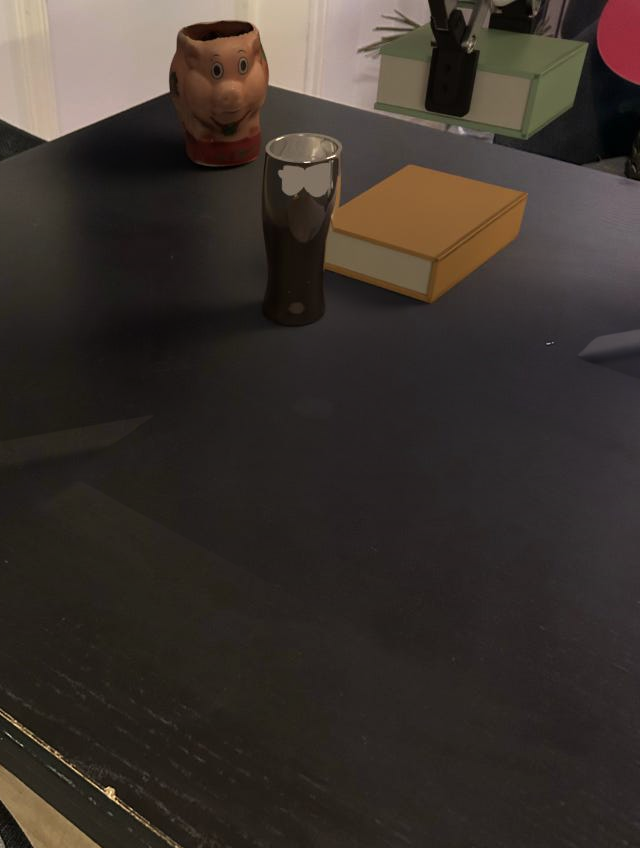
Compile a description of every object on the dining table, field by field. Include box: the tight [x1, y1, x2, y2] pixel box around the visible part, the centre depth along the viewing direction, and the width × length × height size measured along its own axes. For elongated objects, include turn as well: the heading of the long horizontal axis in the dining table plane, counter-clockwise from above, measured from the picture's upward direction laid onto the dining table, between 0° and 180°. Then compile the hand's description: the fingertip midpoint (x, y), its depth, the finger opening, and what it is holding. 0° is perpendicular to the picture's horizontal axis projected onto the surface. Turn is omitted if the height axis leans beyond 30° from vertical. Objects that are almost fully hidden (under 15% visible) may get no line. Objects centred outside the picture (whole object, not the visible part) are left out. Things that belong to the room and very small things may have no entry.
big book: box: [324, 163, 529, 304], centre depth 94 cm, size 14×18×4 cm
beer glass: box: [260, 132, 343, 327], centre depth 83 cm, size 7×7×15 cm
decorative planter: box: [168, 19, 270, 167], centre depth 112 cm, size 20×12×14 cm, turn 13°
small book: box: [373, 21, 589, 141], centre depth 65 cm, size 12×8×4 cm, turn 50°
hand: (474, 93), depth 66 cm, fingers closed on small book, 7 cm apart
